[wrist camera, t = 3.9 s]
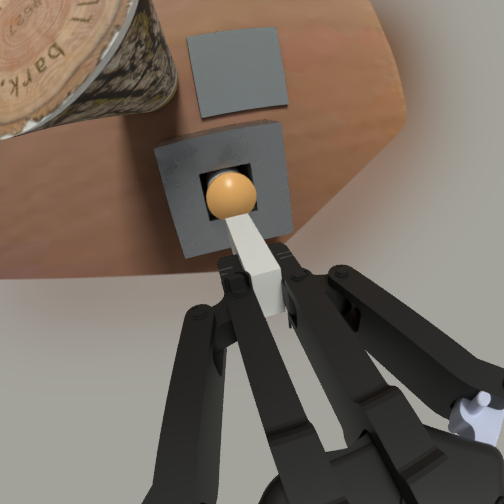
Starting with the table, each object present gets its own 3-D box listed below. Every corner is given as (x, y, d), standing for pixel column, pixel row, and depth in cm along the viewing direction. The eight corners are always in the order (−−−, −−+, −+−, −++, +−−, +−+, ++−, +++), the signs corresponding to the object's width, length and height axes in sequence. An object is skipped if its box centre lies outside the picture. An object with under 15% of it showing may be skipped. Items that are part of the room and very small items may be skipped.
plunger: (207, 202, 31) (212, 226, 26) (199, 165, 29) (201, 180, 23) (246, 193, 32) (259, 215, 26) (239, 156, 30) (252, 169, 24)
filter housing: (185, 234, 34) (185, 258, 29) (160, 141, 28) (153, 148, 22) (277, 212, 35) (293, 232, 30) (264, 119, 29) (280, 122, 24)
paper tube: (190, 86, 25) (192, 3, 4) (142, 125, 26) (3, 189, 5) (156, 45, 22) (80, -90, 1) (107, 84, 23) (-66, 65, 1)
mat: (201, 118, 27) (201, 117, 27) (186, 38, 22) (186, 37, 22) (287, 104, 28) (288, 104, 28) (274, 27, 23) (275, 27, 23)
